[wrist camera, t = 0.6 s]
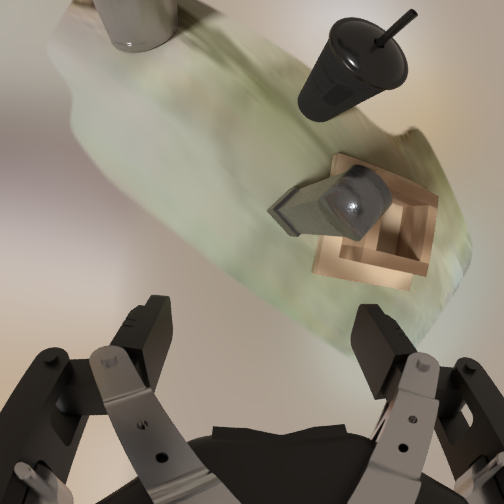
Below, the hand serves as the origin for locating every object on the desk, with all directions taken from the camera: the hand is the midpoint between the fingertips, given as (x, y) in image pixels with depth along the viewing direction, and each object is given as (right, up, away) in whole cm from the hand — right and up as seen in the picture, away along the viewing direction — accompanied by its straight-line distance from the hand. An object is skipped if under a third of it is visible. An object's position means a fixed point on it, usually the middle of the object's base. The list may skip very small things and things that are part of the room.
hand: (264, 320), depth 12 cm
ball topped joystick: (+4, +7, +20) cm, 22 cm away
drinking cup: (+7, +21, +20) cm, 30 cm away
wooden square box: (+14, +6, +22) cm, 27 cm away
